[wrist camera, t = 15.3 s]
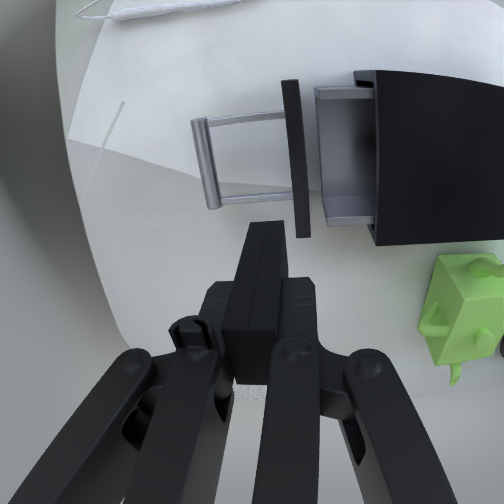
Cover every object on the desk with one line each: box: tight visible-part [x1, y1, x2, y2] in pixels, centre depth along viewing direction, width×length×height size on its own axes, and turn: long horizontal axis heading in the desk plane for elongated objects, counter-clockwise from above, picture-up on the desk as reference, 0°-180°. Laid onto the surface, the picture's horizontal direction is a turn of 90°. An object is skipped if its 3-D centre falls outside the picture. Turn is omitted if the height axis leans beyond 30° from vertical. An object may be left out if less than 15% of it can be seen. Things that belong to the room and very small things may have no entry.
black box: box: [354, 70, 504, 246], centre depth 22 cm, size 16×14×8 cm
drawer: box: [190, 79, 377, 238], centre depth 24 cm, size 22×13×6 cm, turn 97°
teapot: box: [417, 253, 504, 386], centre depth 30 cm, size 15×13×11 cm
